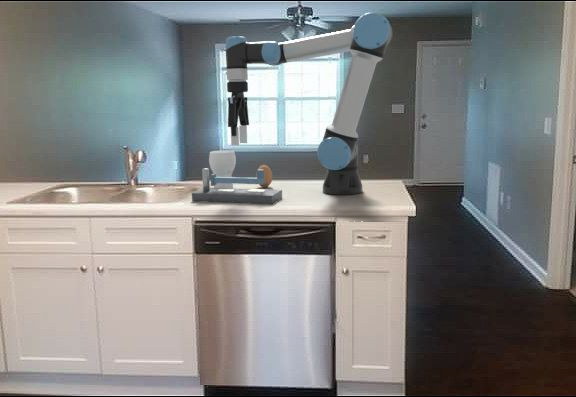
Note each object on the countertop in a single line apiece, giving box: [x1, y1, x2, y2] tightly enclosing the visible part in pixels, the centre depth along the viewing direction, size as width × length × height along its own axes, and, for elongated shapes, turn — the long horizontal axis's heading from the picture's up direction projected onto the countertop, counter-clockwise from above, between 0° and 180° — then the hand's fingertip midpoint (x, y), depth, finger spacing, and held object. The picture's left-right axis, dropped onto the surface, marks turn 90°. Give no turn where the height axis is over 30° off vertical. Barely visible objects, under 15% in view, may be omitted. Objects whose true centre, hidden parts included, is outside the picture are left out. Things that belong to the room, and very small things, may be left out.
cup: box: [208, 150, 237, 188], centre depth 225 cm, size 11×11×15 cm
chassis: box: [191, 167, 283, 205], centre depth 202 cm, size 30×12×11 cm, turn 74°
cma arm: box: [210, 168, 264, 187], centre depth 201 cm, size 20×3×6 cm, turn 74°
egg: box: [255, 164, 273, 188], centre depth 228 cm, size 7×7×9 cm
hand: (239, 143), depth 208 cm, fingers open, 8 cm apart
